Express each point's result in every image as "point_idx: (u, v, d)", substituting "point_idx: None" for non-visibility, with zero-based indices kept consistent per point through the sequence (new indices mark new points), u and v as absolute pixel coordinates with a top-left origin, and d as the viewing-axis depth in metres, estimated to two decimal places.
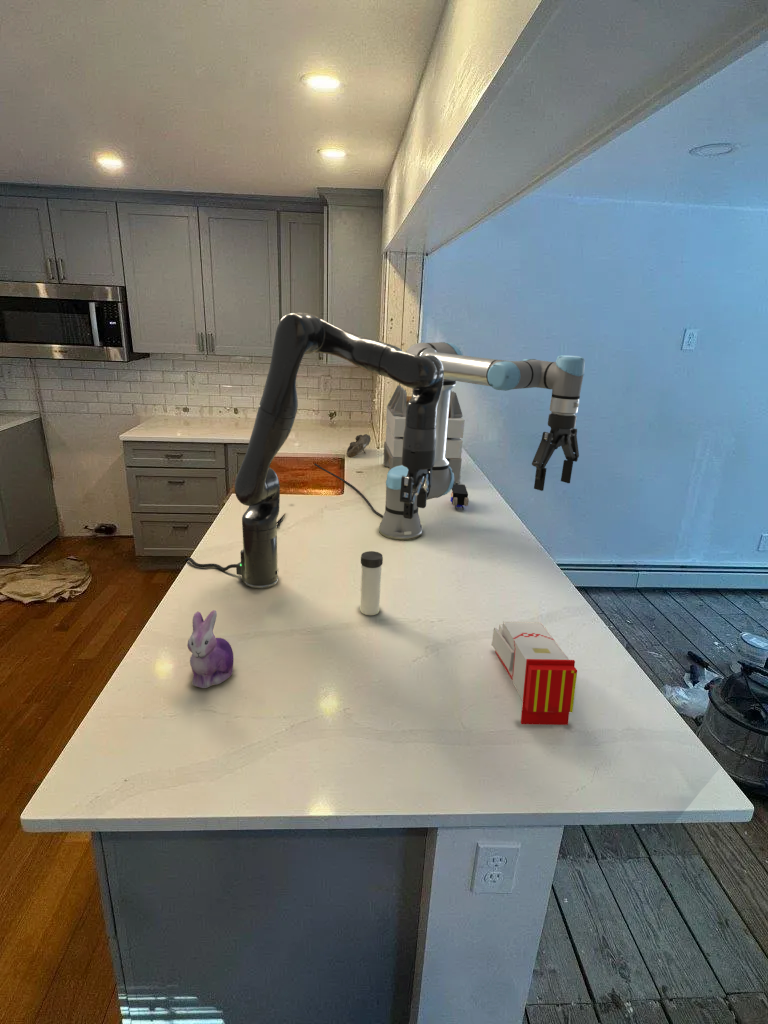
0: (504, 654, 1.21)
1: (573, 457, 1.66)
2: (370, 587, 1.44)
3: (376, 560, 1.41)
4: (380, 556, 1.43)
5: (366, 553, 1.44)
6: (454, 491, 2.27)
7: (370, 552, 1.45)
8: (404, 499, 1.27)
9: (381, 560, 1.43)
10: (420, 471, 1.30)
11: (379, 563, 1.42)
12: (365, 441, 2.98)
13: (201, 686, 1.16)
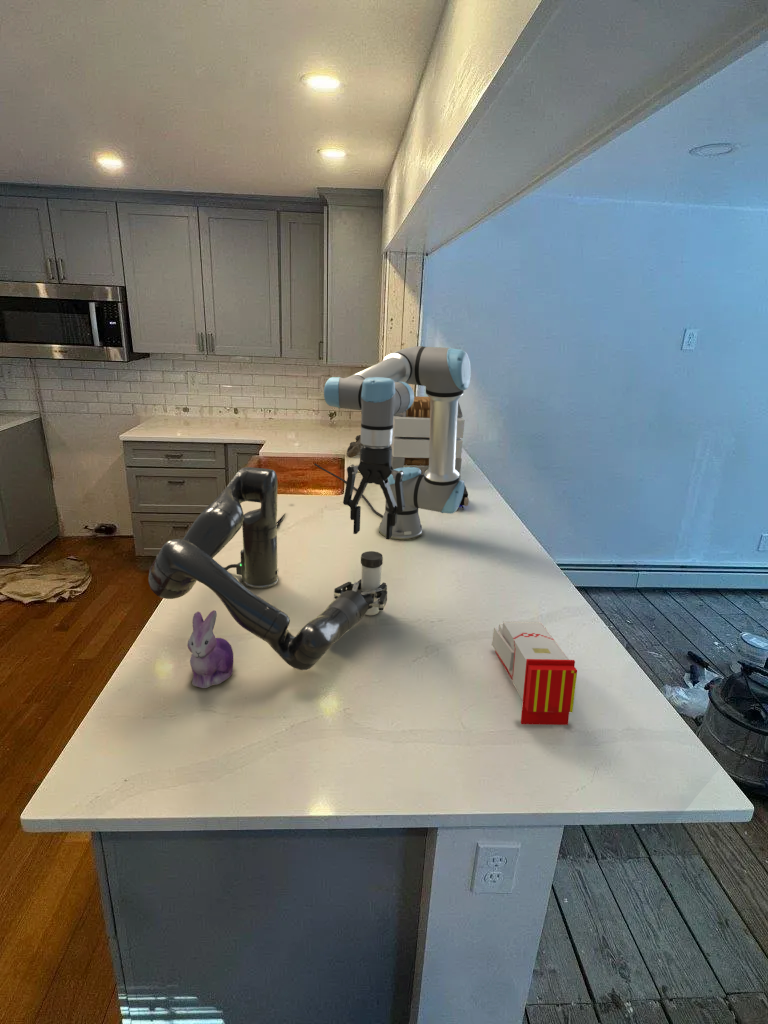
0: (504, 654, 1.21)
1: None
2: (370, 587, 1.44)
3: (376, 560, 1.41)
4: (380, 556, 1.43)
5: (366, 553, 1.44)
6: None
7: (370, 552, 1.45)
8: (386, 597, 1.42)
9: (381, 560, 1.43)
10: None
11: (379, 563, 1.42)
12: None
13: (201, 686, 1.16)
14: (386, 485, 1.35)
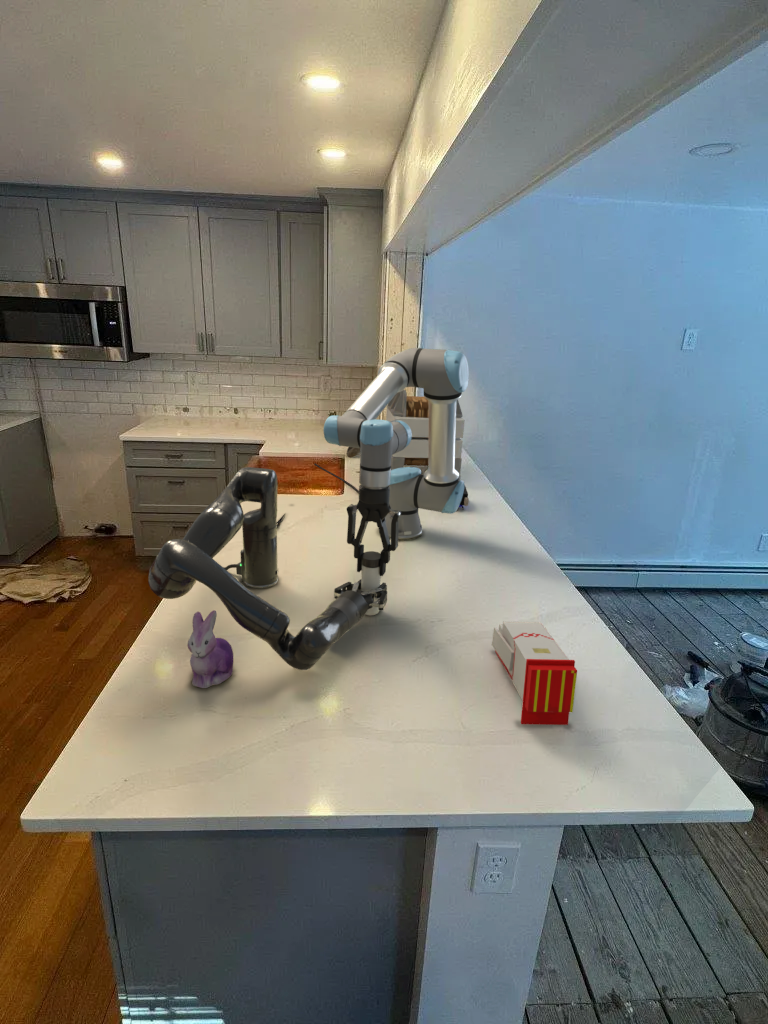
0: (504, 654, 1.21)
1: None
2: (370, 587, 1.44)
3: (376, 560, 1.41)
4: None
5: (366, 553, 1.44)
6: None
7: (370, 552, 1.45)
8: (386, 597, 1.42)
9: None
10: None
11: (379, 563, 1.42)
12: None
13: (201, 686, 1.16)
14: (383, 524, 1.39)
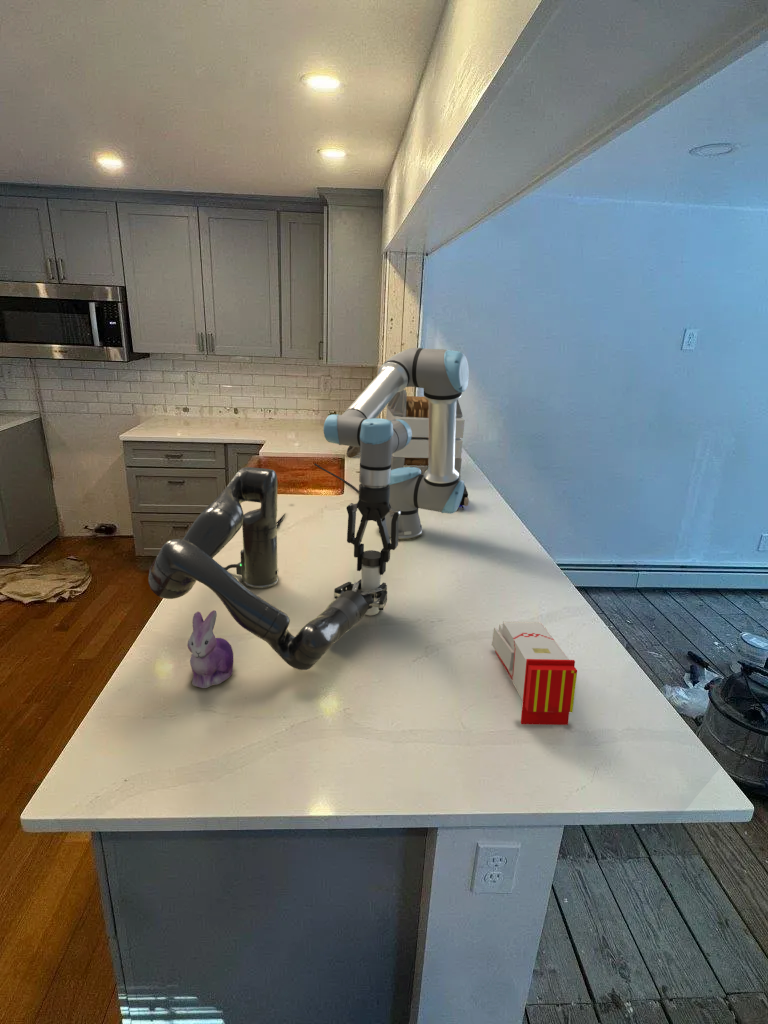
0: (504, 654, 1.21)
1: None
2: (370, 587, 1.44)
3: None
4: (372, 550, 1.45)
5: (368, 556, 1.42)
6: None
7: (364, 555, 1.43)
8: (386, 597, 1.42)
9: None
10: None
11: None
12: None
13: (201, 686, 1.16)
14: (383, 523, 1.39)
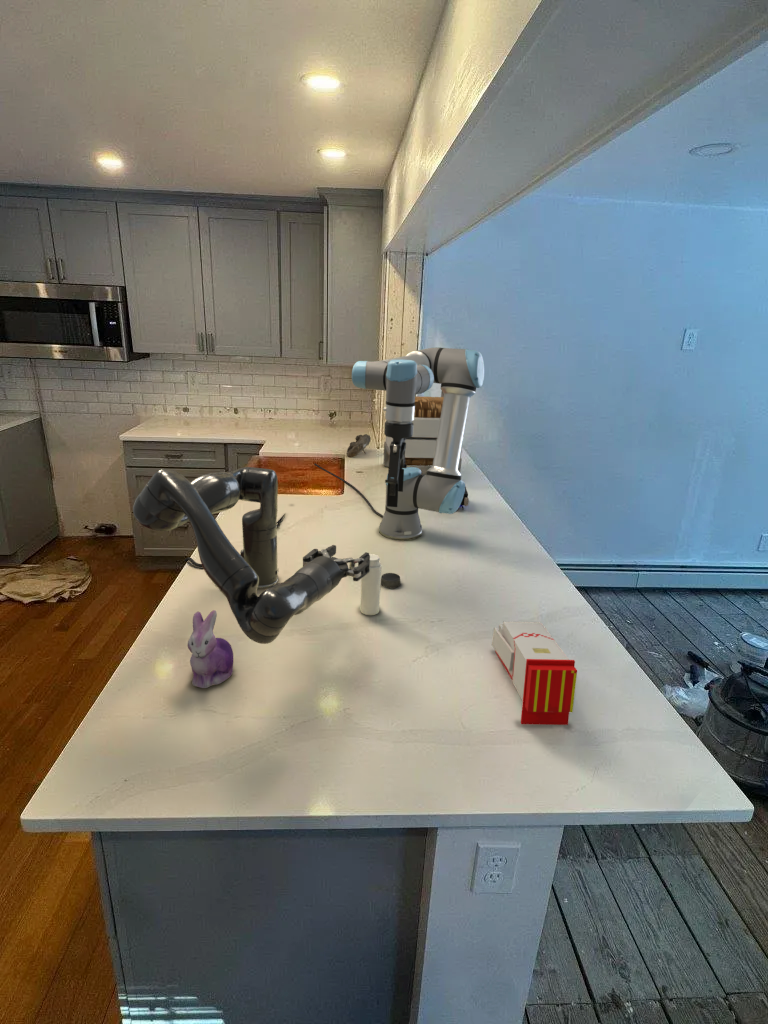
0: (504, 654, 1.21)
1: None
2: (369, 587, 1.44)
3: None
4: (383, 577, 1.62)
5: (396, 578, 1.62)
6: None
7: (394, 579, 1.61)
8: (368, 568, 1.24)
9: (381, 578, 1.63)
10: None
11: None
12: (365, 441, 2.98)
13: (201, 686, 1.16)
14: None
